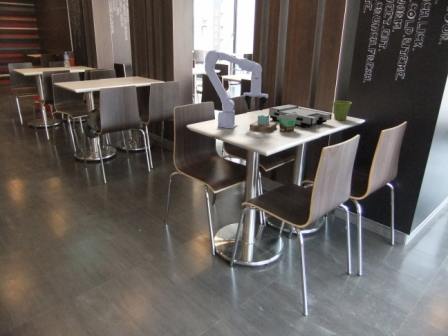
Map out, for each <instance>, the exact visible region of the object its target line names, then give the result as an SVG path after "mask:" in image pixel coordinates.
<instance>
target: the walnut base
mask: <svg viewBox="0 0 448 336" xmlns="http://www.w3.org/2000/svg"><path fill="white" fill-rule="evenodd" d="M277 125H278V122H275V121H269V124H267V125H260V124H258V120H256V121H253V122H252V123H250V124H249V130H250V131H255V132H256V131H257V132H263V133H271V132H272V131H274V130H275V129H277Z"/></svg>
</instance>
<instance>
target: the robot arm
mask: <svg viewBox="0 0 448 336" xmlns="http://www.w3.org/2000/svg"><path fill="white" fill-rule="evenodd" d="M204 61H205V62H204V71H205V73H206V75H207V77H208V78H209V81H210V82H211V84H212V86H213V88H214V89H215V91H216V92H215V93H217V96H218V97H219V99H220V102H221V104H222V110H219V112H218V113H217V114H218V115H217V128H225V129H226V128H227V129H234V128H235V127H237V126H238V125H237V124H235V123H236V121H235V120H236V118H235V117H236V115H235V114H236V110H235V106H236V105H235V104H236V103H235V101H234V100H233V99H232V98H231V97H230V96H229V94H228V93H227V91H226V89H225V87H224V86H223V83H222V82H221V79H220V78H219V76H218V74H217V72H216V70H215V68H216V67H215V66H216V64H217V63H218V61H219V62H220V61H227V62H229V63H232V64H235V65H237V66H238V69H241V70H243V71H247V72H248V73H251V77H250V78H251V79H250V92H243V96H242V97H244V101H245V103H246V106H247V110H250V109H251V107H252V105H251V104H252V103H251V101H252V98H259V105H260V107H259V110H260V111H263V109H264V106H265V103H266V102H267V99H268V98H269V94H268V93H262V72H263V68H262V66H261V64H260V63H258V62H256V61H252V60H250V59H248V58H247V57H241V58H238V57H235V56H233V55H230V54H228V53H227V52H223V51H218V50H215V49H214V50H213V49H212V50H209V51H208V52H207V53H206V56H205V58H204Z"/></svg>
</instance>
